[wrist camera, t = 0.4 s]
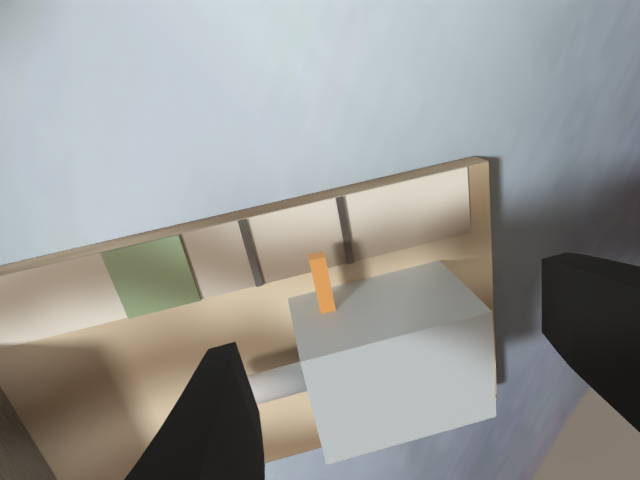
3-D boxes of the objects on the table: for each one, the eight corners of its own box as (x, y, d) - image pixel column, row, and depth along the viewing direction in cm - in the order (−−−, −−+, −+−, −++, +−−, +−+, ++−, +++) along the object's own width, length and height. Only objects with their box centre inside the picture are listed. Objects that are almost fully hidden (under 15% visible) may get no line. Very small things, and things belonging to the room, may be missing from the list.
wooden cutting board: (485, 383, 24) (499, 400, 23) (7, 515, 22) (-7, 543, 21) (474, 155, 19) (491, 162, 18) (-145, 299, 17) (-177, 318, 16)
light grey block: (447, 349, 22) (496, 416, 17) (227, 408, 21) (224, 493, 17) (435, 210, 19) (490, 251, 15) (178, 272, 18) (160, 333, 14)
